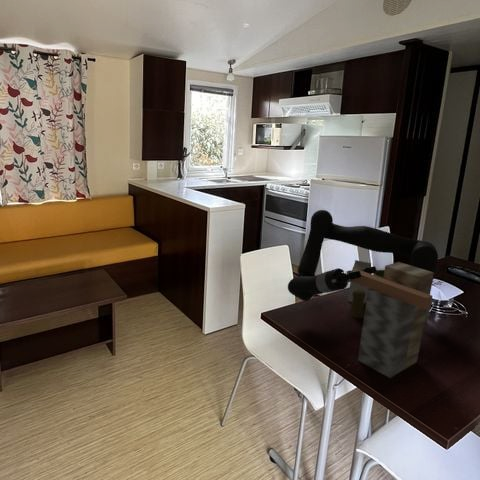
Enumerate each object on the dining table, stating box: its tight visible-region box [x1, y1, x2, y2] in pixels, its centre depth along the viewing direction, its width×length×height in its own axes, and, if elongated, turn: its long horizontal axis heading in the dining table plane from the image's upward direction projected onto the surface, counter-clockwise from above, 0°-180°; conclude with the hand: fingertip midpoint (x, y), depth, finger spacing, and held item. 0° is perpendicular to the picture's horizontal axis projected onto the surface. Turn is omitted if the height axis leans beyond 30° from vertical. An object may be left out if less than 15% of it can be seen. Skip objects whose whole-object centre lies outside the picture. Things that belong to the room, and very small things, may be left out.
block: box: [350, 269, 433, 309], centre depth 120 cm, size 26×4×4 cm, turn 38°
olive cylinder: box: [348, 290, 365, 319], centre depth 160 cm, size 6×6×11 cm
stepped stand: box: [357, 261, 434, 379], centre depth 124 cm, size 12×16×32 cm
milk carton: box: [347, 259, 372, 305], centre depth 173 cm, size 7×7×19 cm
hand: (368, 271), depth 125 cm, fingers open, 8 cm apart
